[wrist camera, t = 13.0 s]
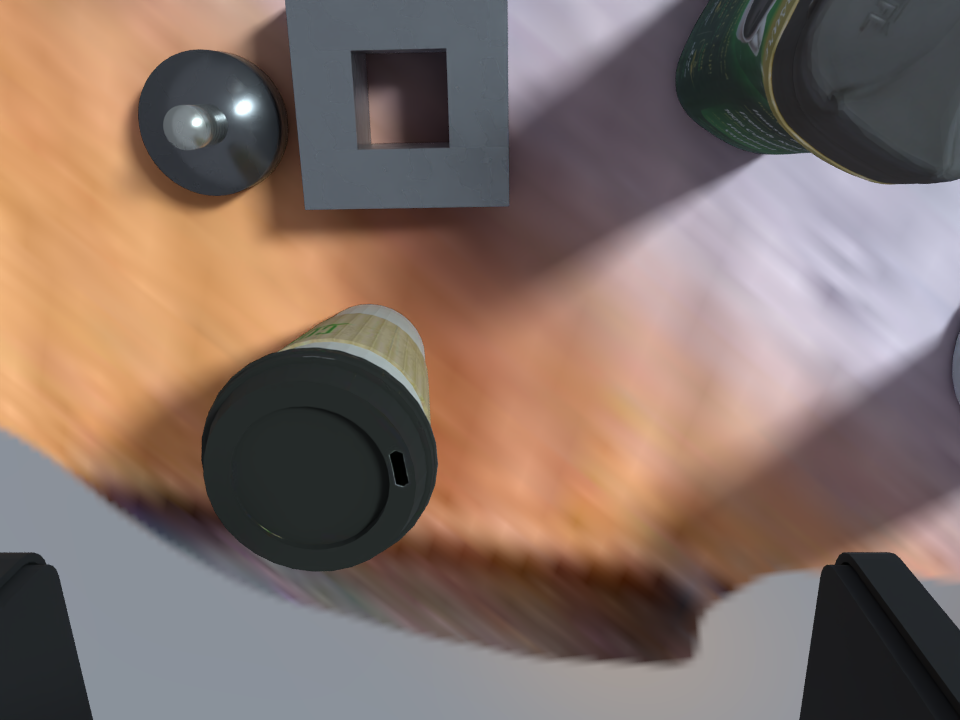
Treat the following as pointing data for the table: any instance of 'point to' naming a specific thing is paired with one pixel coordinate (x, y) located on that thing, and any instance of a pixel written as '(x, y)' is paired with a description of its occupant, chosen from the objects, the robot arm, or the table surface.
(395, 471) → the coffee cup
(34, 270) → the table surface
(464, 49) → the block
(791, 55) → the coffee jar
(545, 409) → the table surface
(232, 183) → the dark knobbed lid
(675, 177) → the table surface
